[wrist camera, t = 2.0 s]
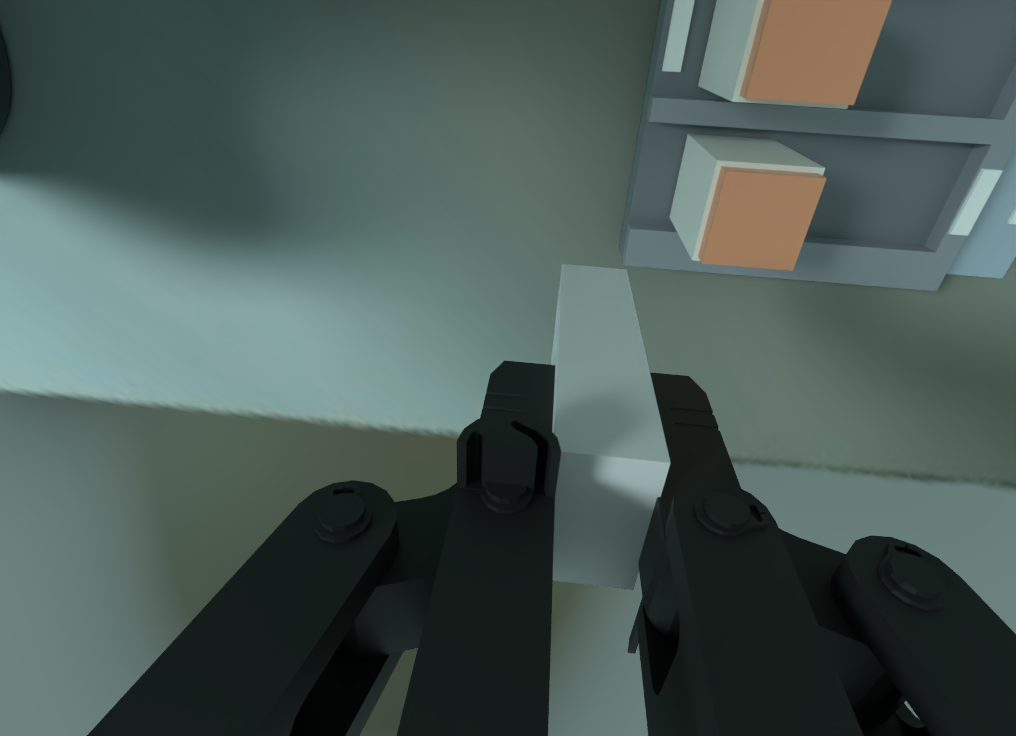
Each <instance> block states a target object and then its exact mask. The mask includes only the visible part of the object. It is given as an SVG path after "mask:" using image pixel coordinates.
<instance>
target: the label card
mask: <svg viewBox="0 0 1016 736" xmlns="http://www.w3.org/2000/svg"><path fill="white" fill-rule="evenodd" d="M1002 171H1003V172H1002V174H1001V175H1000V177H999V179H998V181H997V183H996V185H995V186H994V188H993V190H992V192H991V194H990V196H989V198H988V199H987V201H986V203H985V205H984V207H983V209H982V211H981V212H980V214H979V216H978V218H977V220H976V222H975V223H974V225H973V227H972V229H971V231H970V233H969V235H968V236H966V238H965V240H964V242H963V244H962V245H961V247H960V249H959V251H958V253H957V255H956V257H955V258H954V260H953V262H952V264H951V266H950V268H949V270H948V271H947V273H946V274H951V275H964V276H976V277H989V278H1001V279H1003V277H1004V275H1005V274H1006V272H1007V270H1008V269H1009V267H1010V265H1011V264H1012V262H1013V260H1014V259H1015V257H1016V145H1015V147H1014V149H1013V151H1012V153H1011V155H1010V157H1009V158H1008V160H1007V162H1006V164H1005V166H1004V168H1003V169H1002Z"/></svg>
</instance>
